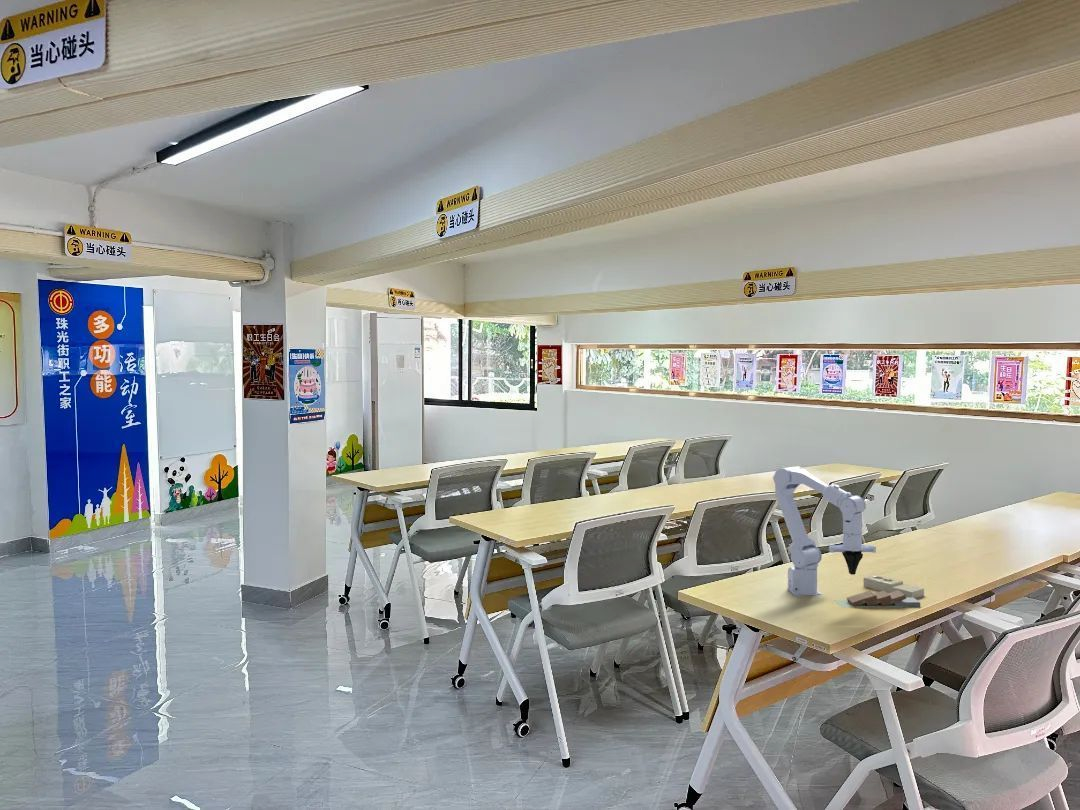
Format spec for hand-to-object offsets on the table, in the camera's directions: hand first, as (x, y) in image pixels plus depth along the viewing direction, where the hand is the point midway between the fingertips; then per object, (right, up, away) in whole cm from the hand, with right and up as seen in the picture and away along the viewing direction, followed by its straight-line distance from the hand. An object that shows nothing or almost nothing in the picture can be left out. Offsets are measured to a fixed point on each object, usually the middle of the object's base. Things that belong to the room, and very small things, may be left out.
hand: (852, 573), depth 241 cm
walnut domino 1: (-1, -9, 0) cm, 9 cm away
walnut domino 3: (+9, -9, 0) cm, 13 cm away
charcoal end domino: (+13, -9, 0) cm, 16 cm away
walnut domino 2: (+4, -9, 0) cm, 10 cm away
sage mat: (+6, -10, +1) cm, 12 cm away
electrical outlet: (+20, -10, +14) cm, 26 cm away
